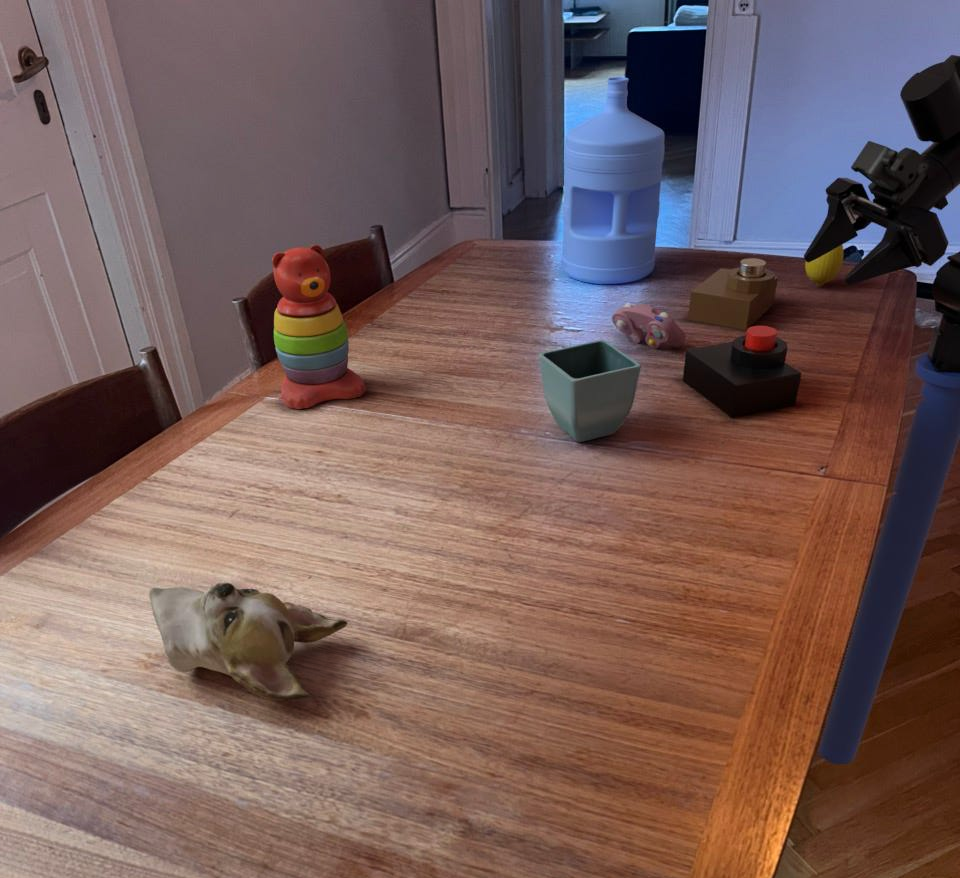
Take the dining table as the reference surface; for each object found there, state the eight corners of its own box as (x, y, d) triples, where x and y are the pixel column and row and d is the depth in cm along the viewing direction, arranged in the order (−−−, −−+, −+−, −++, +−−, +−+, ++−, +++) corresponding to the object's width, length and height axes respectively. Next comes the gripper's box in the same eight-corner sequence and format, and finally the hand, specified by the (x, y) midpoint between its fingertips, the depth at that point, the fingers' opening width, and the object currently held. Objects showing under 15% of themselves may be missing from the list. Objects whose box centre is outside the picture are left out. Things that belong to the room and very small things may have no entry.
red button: (763, 339, 115) (766, 323, 114) (780, 350, 112) (783, 333, 111) (738, 344, 114) (741, 328, 113) (754, 354, 111) (757, 338, 110)
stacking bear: (289, 412, 116) (264, 267, 105) (270, 383, 123) (244, 245, 112) (370, 395, 119) (354, 253, 108) (346, 368, 126) (329, 232, 115)
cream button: (767, 274, 134) (769, 260, 133) (758, 281, 132) (761, 267, 131) (743, 271, 136) (745, 256, 134) (734, 278, 133) (736, 263, 132)
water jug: (553, 259, 161) (557, 74, 143) (641, 254, 162) (655, 68, 144) (570, 288, 149) (576, 89, 131) (664, 282, 150) (683, 84, 132)
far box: (779, 305, 140) (786, 265, 136) (752, 331, 132) (759, 289, 128) (717, 295, 144) (722, 256, 140) (687, 320, 136) (692, 278, 133)
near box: (748, 368, 122) (755, 323, 118) (802, 404, 113) (811, 357, 109) (682, 380, 120) (687, 335, 116) (731, 418, 111) (738, 370, 107)
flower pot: (570, 454, 105) (573, 380, 99) (536, 424, 111) (537, 352, 105) (637, 438, 107) (643, 364, 102) (600, 409, 114) (603, 338, 108)
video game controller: (614, 348, 133) (603, 310, 127) (632, 325, 134) (622, 288, 128) (672, 364, 127) (663, 327, 122) (690, 341, 128) (682, 303, 123)
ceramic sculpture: (176, 536, 77) (345, 563, 75) (194, 616, 83) (352, 643, 80) (110, 613, 69) (297, 645, 67) (135, 695, 75) (308, 728, 73)
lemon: (808, 278, 149) (818, 226, 144) (842, 284, 146) (853, 231, 141) (795, 288, 145) (805, 235, 140) (830, 294, 143) (841, 240, 138)
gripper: (864, 103, 110) (758, 200, 114) (967, 132, 96) (843, 242, 100) (896, 176, 117) (796, 266, 121) (996, 213, 103) (879, 313, 107)
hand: (825, 270), depth 112 cm, fingers open, 9 cm apart
